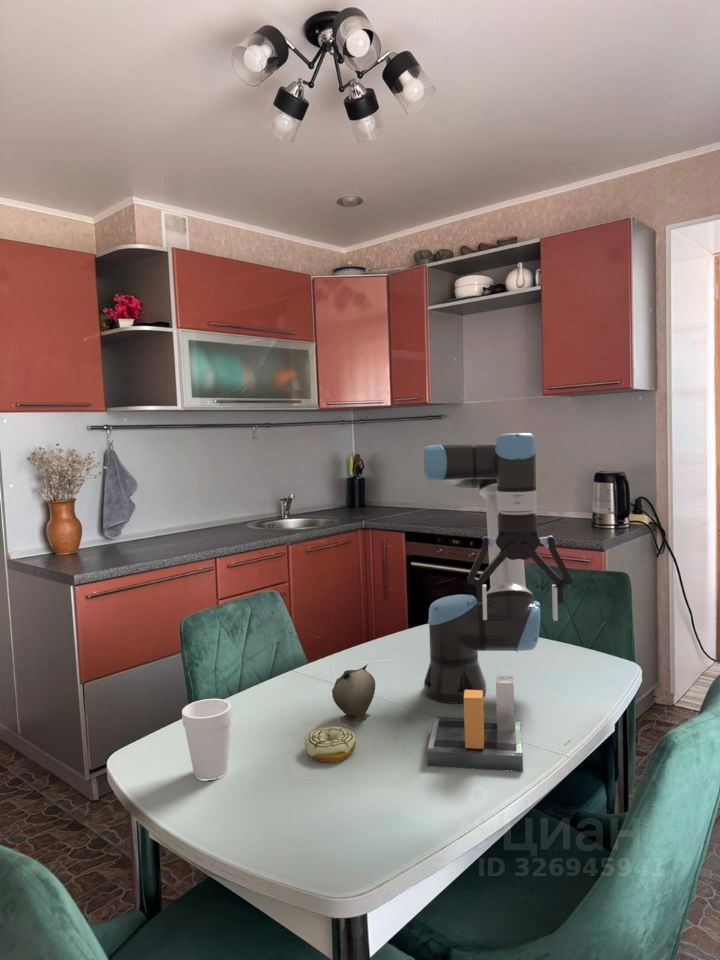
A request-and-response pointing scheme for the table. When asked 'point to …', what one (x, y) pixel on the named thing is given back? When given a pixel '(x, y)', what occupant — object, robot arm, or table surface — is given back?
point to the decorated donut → (330, 744)
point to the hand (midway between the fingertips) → (519, 618)
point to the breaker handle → (474, 719)
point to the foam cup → (208, 736)
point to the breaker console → (498, 738)
